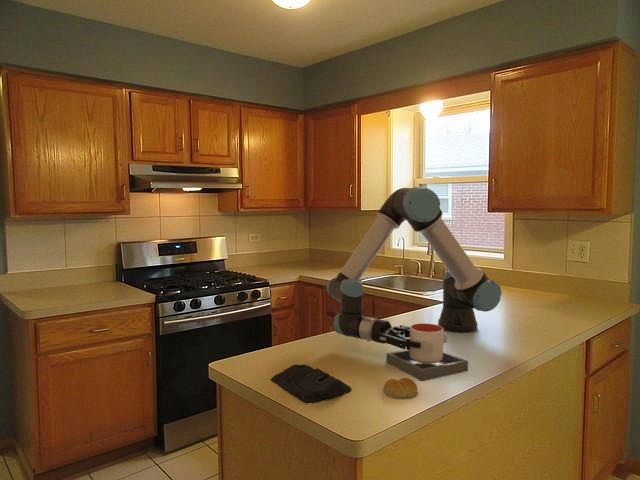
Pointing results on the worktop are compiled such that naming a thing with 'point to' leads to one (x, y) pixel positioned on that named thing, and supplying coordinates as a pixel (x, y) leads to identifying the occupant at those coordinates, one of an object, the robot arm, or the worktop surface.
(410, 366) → the tray
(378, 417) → the worktop surface
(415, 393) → the bread roll
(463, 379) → the worktop surface
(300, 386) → the dark slate chunk
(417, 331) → the cup
